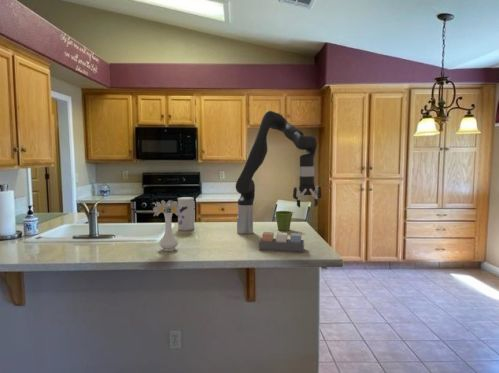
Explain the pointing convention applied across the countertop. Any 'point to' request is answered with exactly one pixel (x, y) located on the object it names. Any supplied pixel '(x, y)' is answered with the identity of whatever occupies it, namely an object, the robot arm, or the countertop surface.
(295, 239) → the slate key
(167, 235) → the flower vase
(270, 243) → the key panel
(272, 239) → the terracotta key
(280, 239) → the white key
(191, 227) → the container
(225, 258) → the countertop surface
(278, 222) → the plant pot
